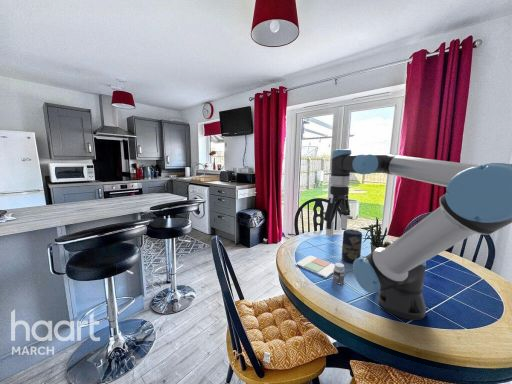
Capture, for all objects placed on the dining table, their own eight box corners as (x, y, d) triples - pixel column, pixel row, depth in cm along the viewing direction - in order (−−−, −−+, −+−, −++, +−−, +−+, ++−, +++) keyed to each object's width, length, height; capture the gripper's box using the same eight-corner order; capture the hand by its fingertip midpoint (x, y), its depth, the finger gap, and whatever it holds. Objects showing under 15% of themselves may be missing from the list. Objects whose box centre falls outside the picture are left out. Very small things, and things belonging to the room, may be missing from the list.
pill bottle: (330, 279, 98) (331, 263, 97) (338, 277, 100) (339, 261, 98) (338, 285, 94) (339, 268, 92) (346, 283, 95) (347, 266, 94)
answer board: (339, 268, 108) (340, 266, 108) (326, 278, 99) (326, 276, 99) (310, 256, 121) (310, 254, 121) (295, 264, 112) (295, 262, 112)
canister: (342, 263, 114) (344, 231, 111) (340, 255, 123) (342, 226, 120) (361, 265, 111) (364, 233, 109) (357, 257, 121) (360, 227, 118)
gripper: (343, 182, 102) (341, 224, 105) (316, 187, 85) (314, 236, 88) (359, 183, 96) (356, 227, 100) (334, 189, 79) (331, 241, 83)
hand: (336, 232), depth 94 cm, fingers open, 13 cm apart
